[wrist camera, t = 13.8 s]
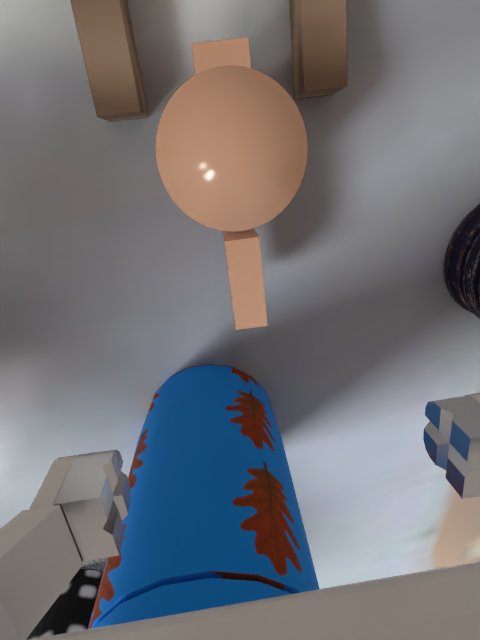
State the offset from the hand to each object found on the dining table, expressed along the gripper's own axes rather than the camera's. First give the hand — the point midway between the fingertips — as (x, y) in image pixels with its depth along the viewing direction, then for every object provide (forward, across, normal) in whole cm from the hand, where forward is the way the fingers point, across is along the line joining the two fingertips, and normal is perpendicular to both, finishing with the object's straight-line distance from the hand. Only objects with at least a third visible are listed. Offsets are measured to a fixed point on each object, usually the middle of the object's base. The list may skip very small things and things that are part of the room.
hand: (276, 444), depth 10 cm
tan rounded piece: (+19, +1, +5) cm, 20 cm away
